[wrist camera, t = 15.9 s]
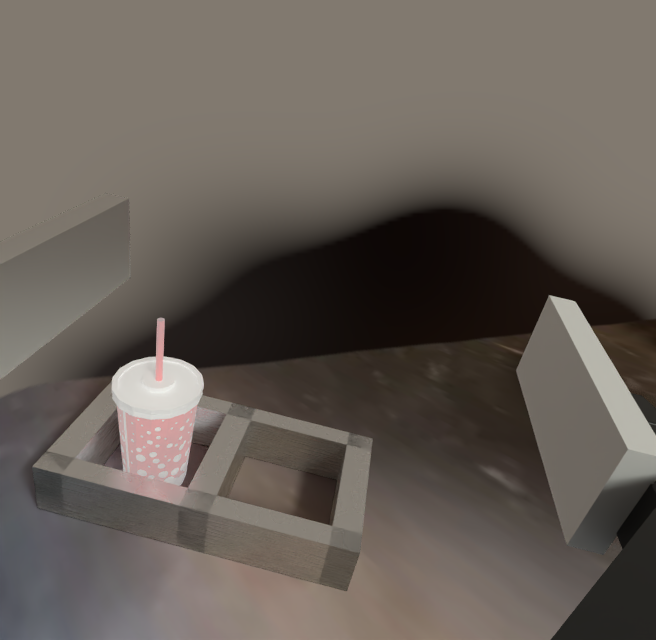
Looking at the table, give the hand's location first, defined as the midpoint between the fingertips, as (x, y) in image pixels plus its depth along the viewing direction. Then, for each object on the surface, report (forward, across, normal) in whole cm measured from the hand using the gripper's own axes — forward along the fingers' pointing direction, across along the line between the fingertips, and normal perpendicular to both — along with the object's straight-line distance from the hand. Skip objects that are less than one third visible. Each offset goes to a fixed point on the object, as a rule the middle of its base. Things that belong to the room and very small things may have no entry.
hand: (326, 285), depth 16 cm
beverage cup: (+12, -11, -25) cm, 30 cm away
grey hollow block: (+13, -6, -25) cm, 29 cm away
